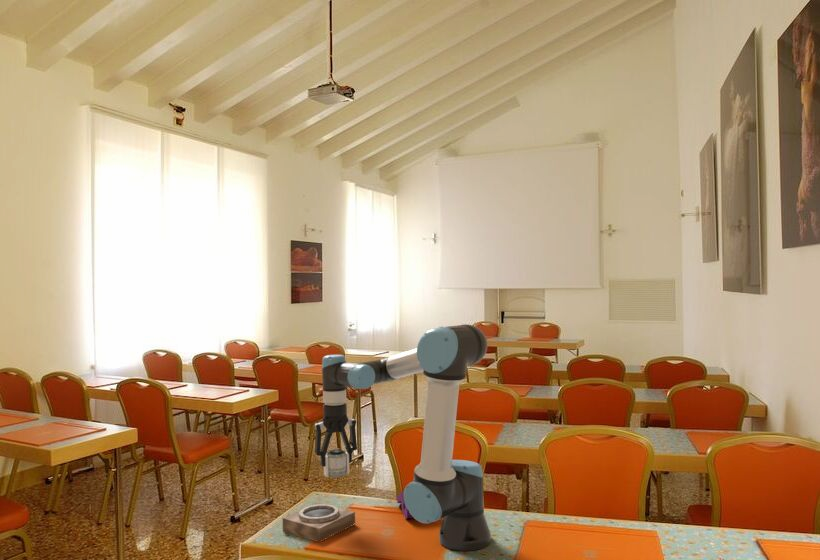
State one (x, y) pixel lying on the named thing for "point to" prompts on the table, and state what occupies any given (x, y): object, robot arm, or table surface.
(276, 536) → the table surface
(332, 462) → the camera lens
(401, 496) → the mounting bracket
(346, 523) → the mount block
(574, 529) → the table surface
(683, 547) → the table surface
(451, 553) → the table surface
